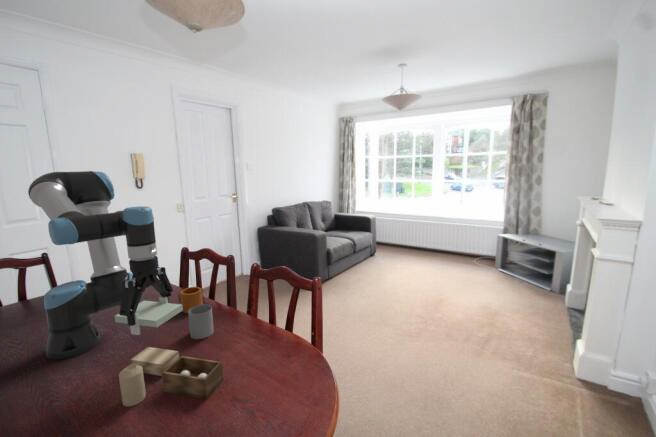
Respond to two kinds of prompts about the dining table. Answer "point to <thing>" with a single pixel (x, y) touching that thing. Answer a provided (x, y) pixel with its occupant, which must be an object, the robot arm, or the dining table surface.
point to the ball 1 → (186, 373)
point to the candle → (132, 385)
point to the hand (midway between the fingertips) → (151, 324)
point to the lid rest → (155, 360)
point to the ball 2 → (202, 375)
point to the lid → (153, 313)
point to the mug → (190, 298)
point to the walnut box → (193, 377)
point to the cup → (200, 321)
